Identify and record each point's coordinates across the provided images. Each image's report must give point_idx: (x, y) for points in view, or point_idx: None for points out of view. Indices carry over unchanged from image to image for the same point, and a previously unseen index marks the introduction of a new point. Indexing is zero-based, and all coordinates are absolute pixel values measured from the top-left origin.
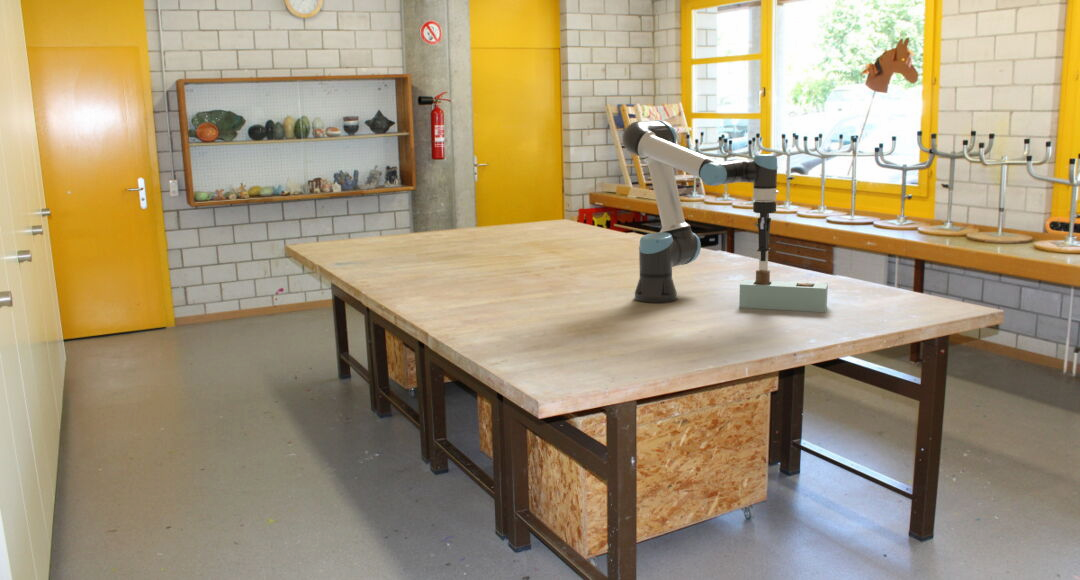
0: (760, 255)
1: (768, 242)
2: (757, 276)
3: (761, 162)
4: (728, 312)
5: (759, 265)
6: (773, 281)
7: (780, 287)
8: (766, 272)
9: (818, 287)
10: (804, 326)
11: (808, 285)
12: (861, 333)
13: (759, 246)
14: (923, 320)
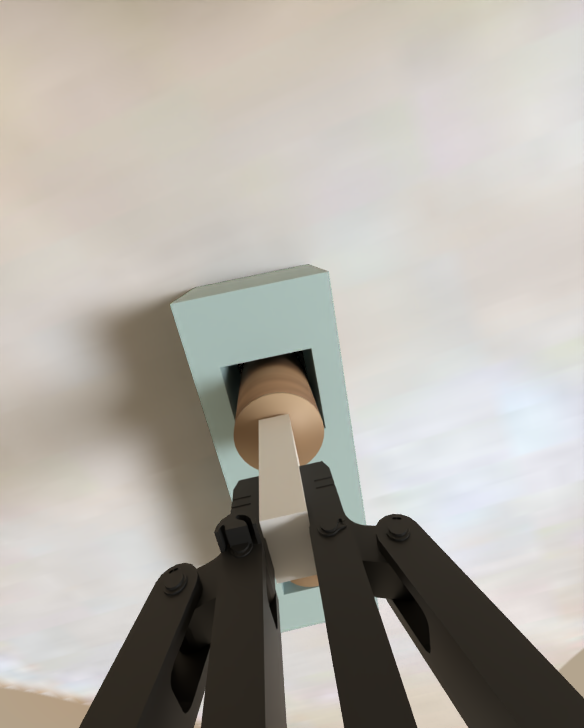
0: (260, 499)
1: (412, 639)
2: (241, 400)
3: None
4: (87, 275)
5: (259, 440)
6: (336, 431)
7: (230, 493)
8: (250, 463)
9: (283, 610)
10: (59, 561)
11: (291, 581)
12: (84, 675)
13: (140, 626)
14: (299, 716)
